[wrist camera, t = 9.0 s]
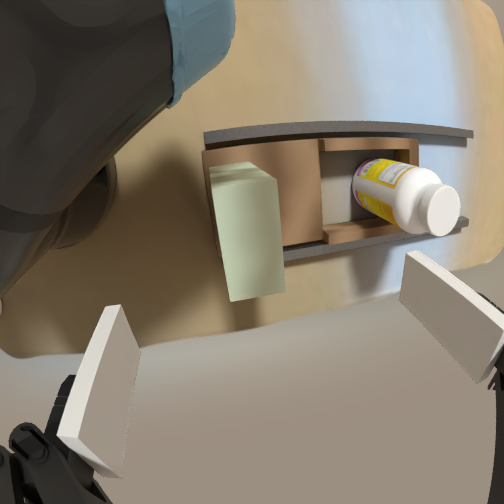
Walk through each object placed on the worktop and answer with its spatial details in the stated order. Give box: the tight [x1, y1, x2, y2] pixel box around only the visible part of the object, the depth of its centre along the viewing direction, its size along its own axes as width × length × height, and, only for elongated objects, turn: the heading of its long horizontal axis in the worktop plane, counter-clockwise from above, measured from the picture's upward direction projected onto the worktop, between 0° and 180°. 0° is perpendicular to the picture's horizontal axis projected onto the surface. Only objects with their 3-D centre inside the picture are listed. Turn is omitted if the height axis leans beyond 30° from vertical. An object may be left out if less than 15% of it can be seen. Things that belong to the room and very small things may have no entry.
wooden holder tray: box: [202, 137, 419, 302], centre depth 26 cm, size 24×11×13 cm, turn 96°
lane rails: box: [204, 121, 473, 261], centre depth 32 cm, size 38×15×2 cm, turn 97°
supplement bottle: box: [352, 158, 460, 237], centre depth 27 cm, size 7×7×13 cm
